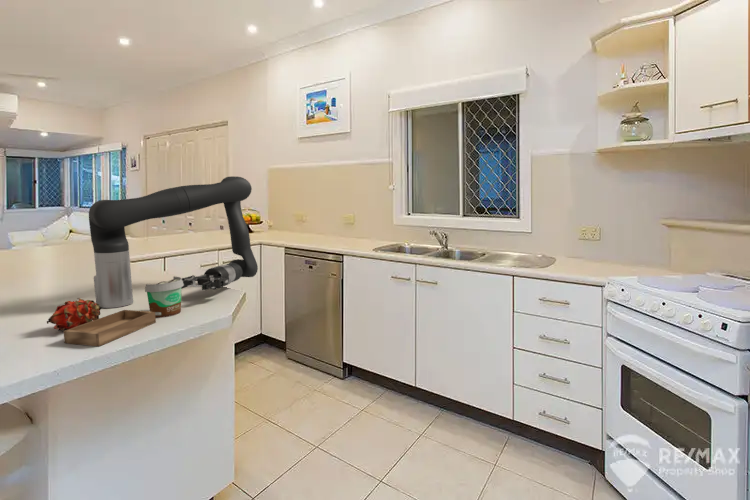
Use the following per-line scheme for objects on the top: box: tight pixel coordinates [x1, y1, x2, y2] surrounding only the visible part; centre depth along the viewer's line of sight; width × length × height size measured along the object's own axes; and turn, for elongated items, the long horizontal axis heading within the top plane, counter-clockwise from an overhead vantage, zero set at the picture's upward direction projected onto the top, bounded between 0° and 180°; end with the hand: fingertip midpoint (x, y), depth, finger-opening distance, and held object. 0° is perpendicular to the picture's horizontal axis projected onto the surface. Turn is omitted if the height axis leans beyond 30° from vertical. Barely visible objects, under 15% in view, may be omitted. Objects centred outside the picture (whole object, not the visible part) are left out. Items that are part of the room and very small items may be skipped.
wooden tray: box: [62, 309, 157, 347], centre depth 101 cm, size 10×18×3 cm, turn 169°
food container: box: [144, 275, 184, 319], centre depth 116 cm, size 12×6×10 cm, turn 168°
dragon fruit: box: [46, 297, 102, 332], centre depth 103 cm, size 8×8×12 cm
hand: (191, 286), depth 126 cm, fingers open, 8 cm apart
